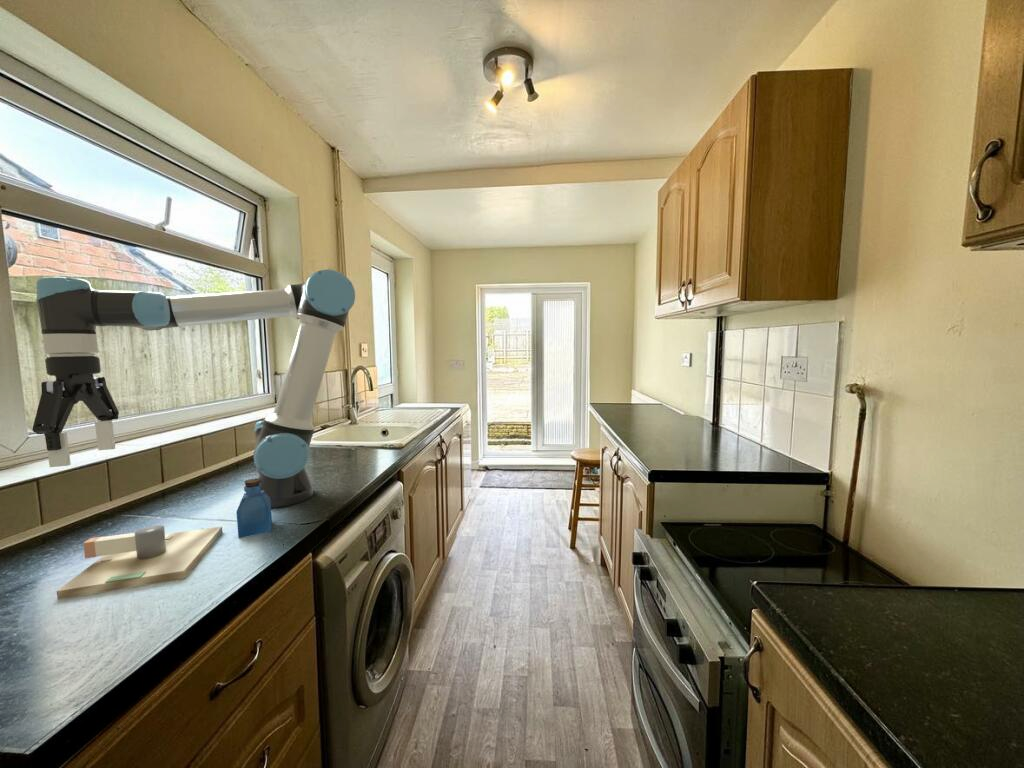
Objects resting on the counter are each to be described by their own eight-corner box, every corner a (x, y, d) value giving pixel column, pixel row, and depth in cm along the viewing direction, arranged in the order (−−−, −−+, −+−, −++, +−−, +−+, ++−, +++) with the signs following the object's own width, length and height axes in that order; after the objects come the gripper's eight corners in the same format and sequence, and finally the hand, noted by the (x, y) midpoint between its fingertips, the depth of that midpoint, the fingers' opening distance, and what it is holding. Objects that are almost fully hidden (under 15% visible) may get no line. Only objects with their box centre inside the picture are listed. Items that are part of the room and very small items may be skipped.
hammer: (170, 547, 84) (168, 523, 83) (159, 557, 79) (157, 532, 79) (96, 557, 80) (94, 533, 79) (81, 568, 76) (78, 543, 75)
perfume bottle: (238, 538, 90) (234, 486, 89) (242, 527, 96) (238, 479, 95) (270, 532, 93) (266, 482, 92) (271, 522, 99) (268, 474, 98)
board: (222, 532, 93) (221, 525, 93) (184, 578, 74) (183, 569, 74) (125, 546, 87) (124, 538, 87) (57, 599, 69) (56, 590, 68)
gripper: (91, 355, 92) (102, 445, 94) (-10, 357, 69) (8, 477, 71) (132, 354, 95) (141, 442, 97) (47, 355, 71) (62, 472, 73)
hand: (85, 457), depth 84 cm, fingers open, 13 cm apart
